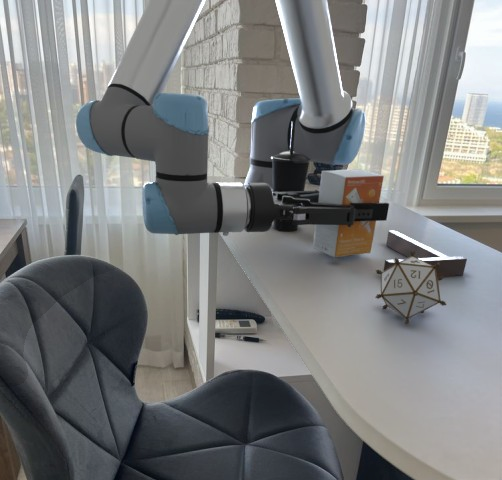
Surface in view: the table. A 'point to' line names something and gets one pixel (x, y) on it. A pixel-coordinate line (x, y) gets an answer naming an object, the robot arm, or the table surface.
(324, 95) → the robot arm
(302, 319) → the table surface
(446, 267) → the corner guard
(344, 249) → the small box
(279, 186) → the drinking cup
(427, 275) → the game die
